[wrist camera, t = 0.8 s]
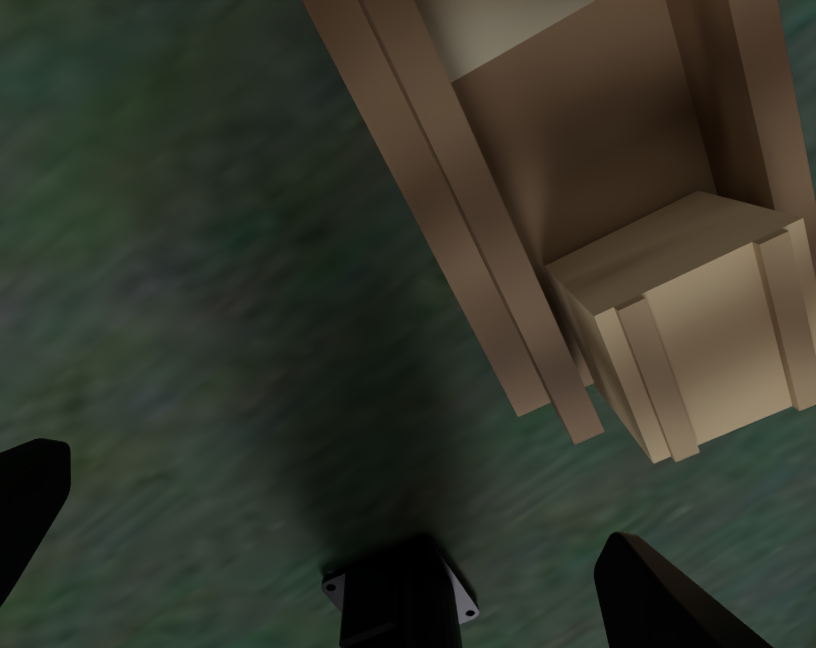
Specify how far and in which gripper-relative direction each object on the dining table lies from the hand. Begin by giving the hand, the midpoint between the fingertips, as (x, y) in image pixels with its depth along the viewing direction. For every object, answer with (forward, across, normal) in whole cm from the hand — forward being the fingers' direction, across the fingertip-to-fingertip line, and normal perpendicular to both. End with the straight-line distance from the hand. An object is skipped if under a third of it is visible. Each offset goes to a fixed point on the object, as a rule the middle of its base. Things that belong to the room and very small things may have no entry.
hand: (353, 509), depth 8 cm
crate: (+12, -10, -2) cm, 16 cm away
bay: (+13, -6, -7) cm, 16 cm away
